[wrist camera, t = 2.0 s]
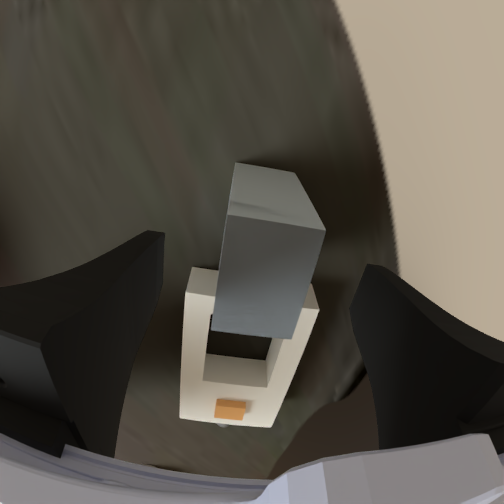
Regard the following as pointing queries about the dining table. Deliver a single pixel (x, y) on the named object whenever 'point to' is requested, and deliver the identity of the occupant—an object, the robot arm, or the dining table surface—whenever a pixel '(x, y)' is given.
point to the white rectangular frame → (234, 364)
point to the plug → (266, 254)
